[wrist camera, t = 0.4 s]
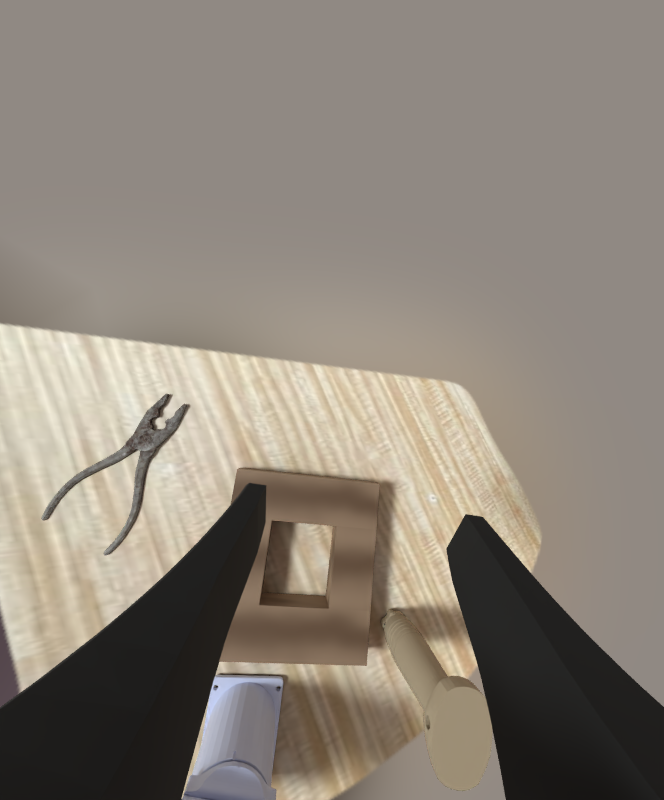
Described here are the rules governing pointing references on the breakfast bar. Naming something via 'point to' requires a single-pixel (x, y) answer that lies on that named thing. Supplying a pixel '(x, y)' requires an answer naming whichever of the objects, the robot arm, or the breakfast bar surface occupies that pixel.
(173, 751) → the robot arm
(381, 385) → the breakfast bar surface
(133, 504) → the pliers
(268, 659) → the socket plate
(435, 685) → the handle
